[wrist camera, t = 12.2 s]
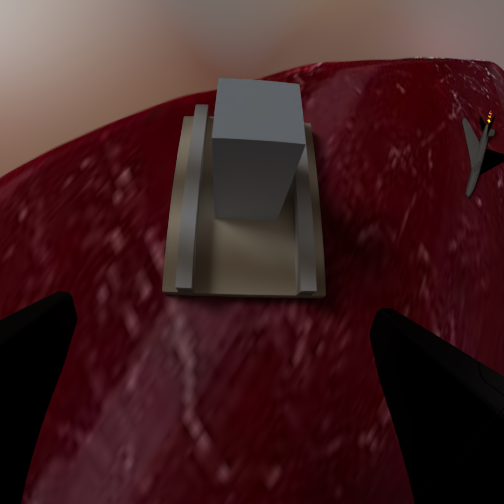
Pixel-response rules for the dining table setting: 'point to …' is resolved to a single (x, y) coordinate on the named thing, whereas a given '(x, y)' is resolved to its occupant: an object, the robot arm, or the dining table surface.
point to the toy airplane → (480, 153)
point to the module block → (255, 147)
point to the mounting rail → (240, 231)
